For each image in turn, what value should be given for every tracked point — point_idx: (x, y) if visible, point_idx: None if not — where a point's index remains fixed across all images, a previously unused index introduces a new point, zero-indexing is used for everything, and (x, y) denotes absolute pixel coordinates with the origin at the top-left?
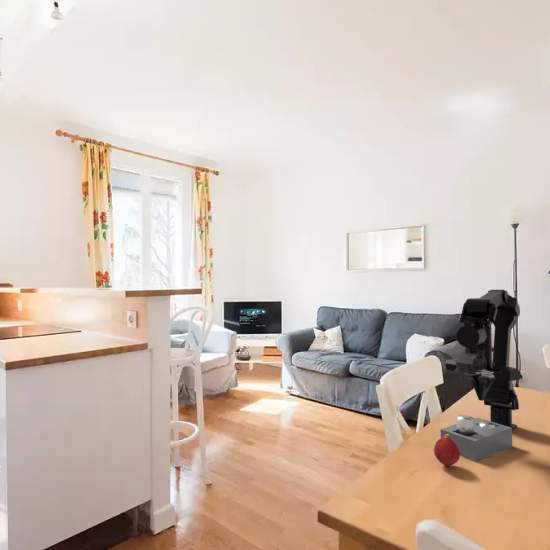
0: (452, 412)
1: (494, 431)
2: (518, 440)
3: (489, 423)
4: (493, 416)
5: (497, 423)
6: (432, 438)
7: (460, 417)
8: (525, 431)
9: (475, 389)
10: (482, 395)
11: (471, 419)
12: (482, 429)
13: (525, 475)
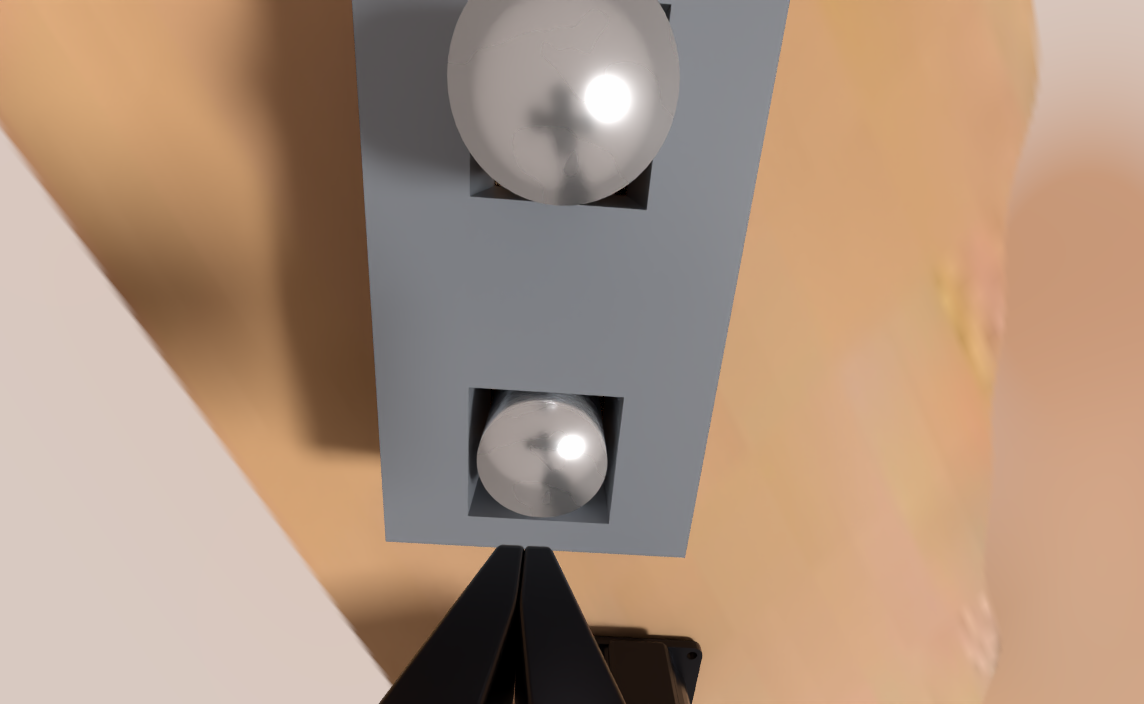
0: (946, 684)
1: (411, 359)
2: (454, 563)
3: (536, 492)
4: (653, 699)
5: (621, 660)
6: (870, 145)
7: (599, 12)
8: None
9: (599, 700)
10: (451, 613)
11: (448, 68)
12: (503, 325)
13: (81, 56)
